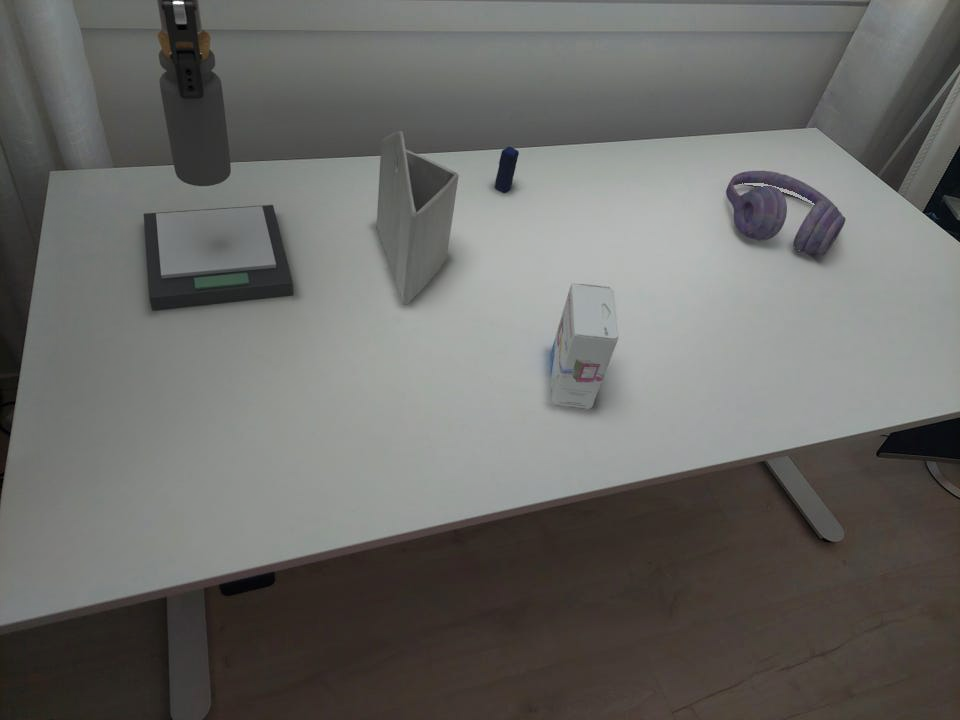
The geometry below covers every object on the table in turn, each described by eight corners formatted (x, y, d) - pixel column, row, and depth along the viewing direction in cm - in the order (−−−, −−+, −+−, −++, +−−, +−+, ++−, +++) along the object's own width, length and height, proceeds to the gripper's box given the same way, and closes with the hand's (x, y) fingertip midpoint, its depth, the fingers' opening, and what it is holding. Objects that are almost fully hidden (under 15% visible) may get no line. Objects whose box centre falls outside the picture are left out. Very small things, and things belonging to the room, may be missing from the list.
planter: (462, 299, 92) (486, 169, 78) (402, 306, 90) (416, 172, 76) (430, 223, 102) (446, 95, 89) (375, 226, 100) (383, 96, 86)
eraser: (492, 188, 111) (500, 149, 106) (501, 183, 112) (509, 144, 107) (503, 195, 110) (512, 156, 105) (512, 189, 112) (520, 150, 107)
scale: (152, 311, 83) (148, 293, 81) (146, 227, 93) (142, 209, 91) (293, 296, 88) (292, 278, 86) (273, 217, 98) (272, 200, 96)
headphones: (839, 272, 109) (818, 218, 125) (867, 224, 104) (841, 174, 120) (721, 239, 110) (715, 190, 126) (743, 190, 105) (734, 145, 121)
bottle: (203, 151, 82) (185, 17, 71) (242, 171, 80) (229, 37, 70) (163, 171, 78) (136, 33, 67) (203, 193, 77) (182, 55, 66)
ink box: (547, 352, 88) (571, 279, 80) (587, 357, 89) (614, 285, 80) (549, 405, 82) (575, 332, 74) (592, 410, 83) (622, 339, 74)
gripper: (110, -143, 63) (146, 48, 75) (111, -87, 54) (151, 119, 66) (202, -136, 65) (222, 48, 77) (217, -81, 56) (237, 117, 68)
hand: (189, 80), depth 72 cm, fingers closed on bottle, 5 cm apart
